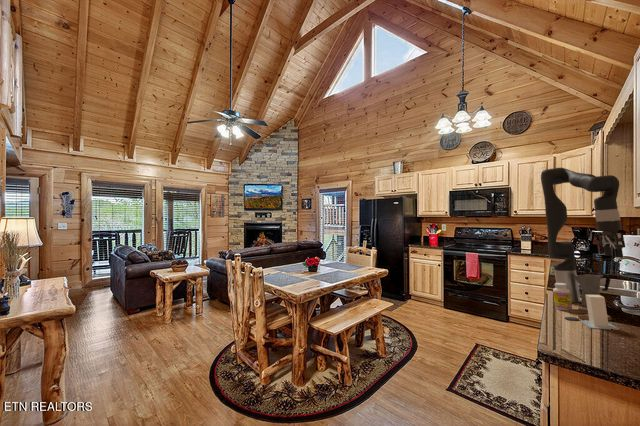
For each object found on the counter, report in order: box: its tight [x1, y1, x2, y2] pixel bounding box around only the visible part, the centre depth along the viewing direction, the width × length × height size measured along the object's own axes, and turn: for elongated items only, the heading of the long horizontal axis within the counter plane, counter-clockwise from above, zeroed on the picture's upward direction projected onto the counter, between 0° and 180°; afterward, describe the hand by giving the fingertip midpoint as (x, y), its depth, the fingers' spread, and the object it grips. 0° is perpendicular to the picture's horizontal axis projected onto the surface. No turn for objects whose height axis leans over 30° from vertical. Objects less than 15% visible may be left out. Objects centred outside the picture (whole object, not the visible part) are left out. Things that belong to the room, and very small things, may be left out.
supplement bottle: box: [552, 282, 573, 311], centre depth 141 cm, size 7×7×13 cm
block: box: [585, 294, 609, 327], centre depth 117 cm, size 4×4×12 cm
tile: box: [579, 320, 620, 331], centre depth 116 cm, size 9×9×1 cm
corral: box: [568, 308, 612, 321], centre depth 128 cm, size 11×11×2 cm
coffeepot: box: [573, 270, 611, 307], centre depth 144 cm, size 15×9×18 cm, turn 70°
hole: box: [564, 316, 580, 322], centre depth 126 cm, size 5×5×1 cm
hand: (613, 256), depth 120 cm, fingers open, 8 cm apart
